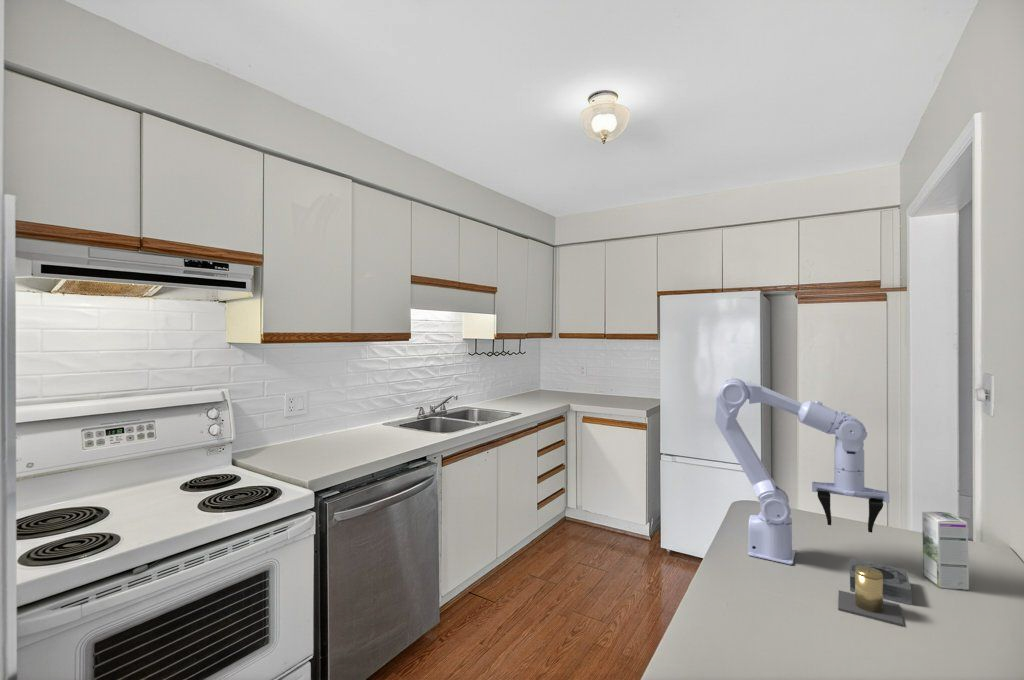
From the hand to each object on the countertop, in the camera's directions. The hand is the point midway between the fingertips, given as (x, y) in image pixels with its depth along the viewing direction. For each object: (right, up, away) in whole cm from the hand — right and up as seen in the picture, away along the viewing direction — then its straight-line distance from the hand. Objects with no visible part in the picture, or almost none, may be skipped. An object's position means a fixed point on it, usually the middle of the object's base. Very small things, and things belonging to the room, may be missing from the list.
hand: (849, 527), depth 112 cm
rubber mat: (-8, -10, -17) cm, 21 cm away
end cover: (-8, -9, -17) cm, 20 cm away
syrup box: (+16, -10, -7) cm, 20 cm away
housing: (0, -10, -9) cm, 13 cm away
